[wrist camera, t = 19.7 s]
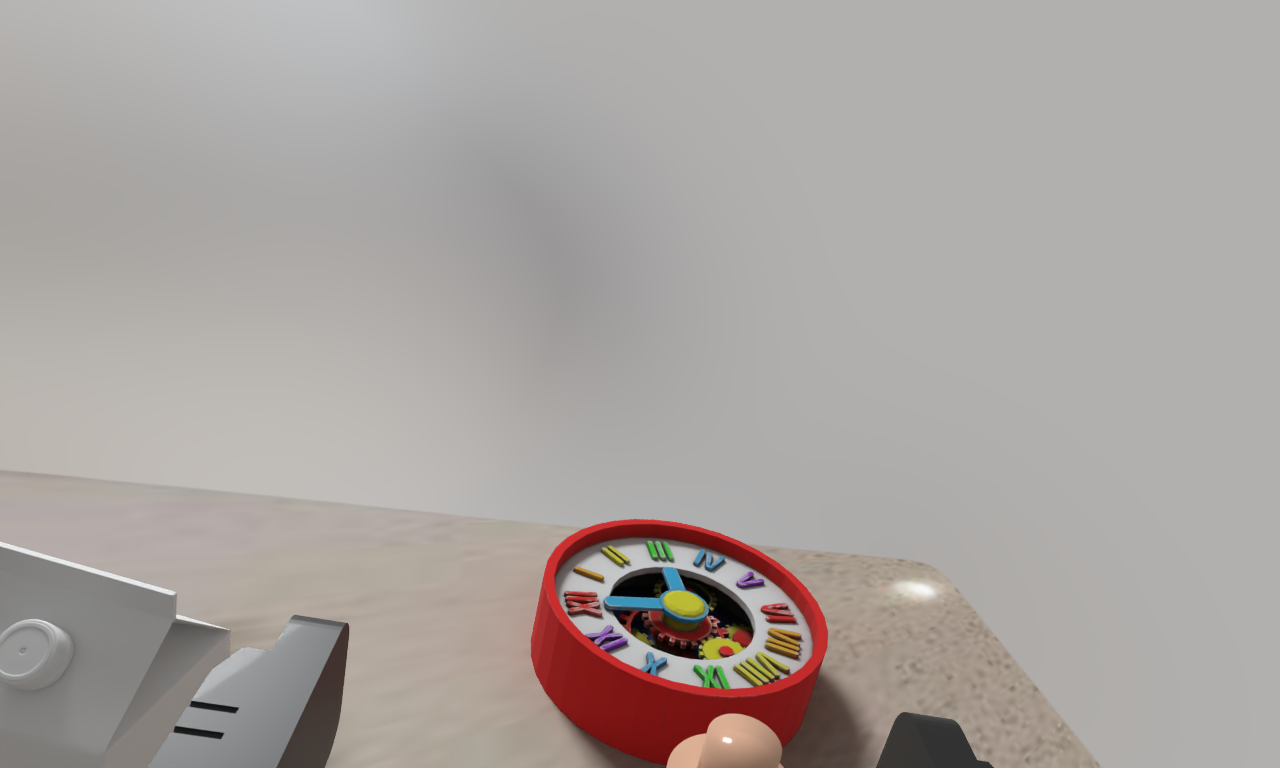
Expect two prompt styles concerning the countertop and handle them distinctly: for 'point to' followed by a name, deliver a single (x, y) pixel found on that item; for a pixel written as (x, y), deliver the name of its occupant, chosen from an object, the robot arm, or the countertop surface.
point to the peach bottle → (730, 746)
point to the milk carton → (93, 664)
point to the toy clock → (673, 635)
